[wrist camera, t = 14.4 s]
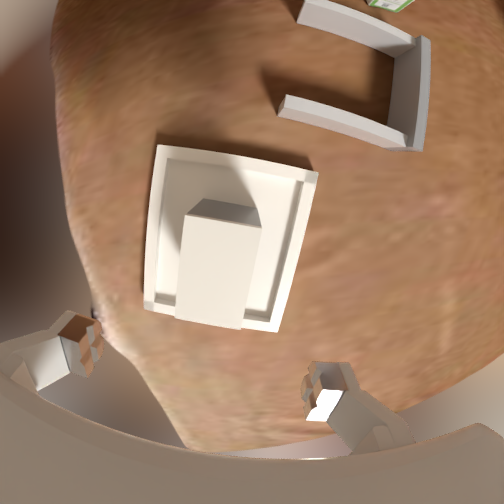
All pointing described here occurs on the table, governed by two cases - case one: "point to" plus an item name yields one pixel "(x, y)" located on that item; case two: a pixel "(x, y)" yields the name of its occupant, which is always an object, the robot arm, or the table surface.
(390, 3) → the ink box
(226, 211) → the upright white block
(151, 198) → the tray
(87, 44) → the table surface
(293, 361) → the table surface
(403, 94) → the bay
